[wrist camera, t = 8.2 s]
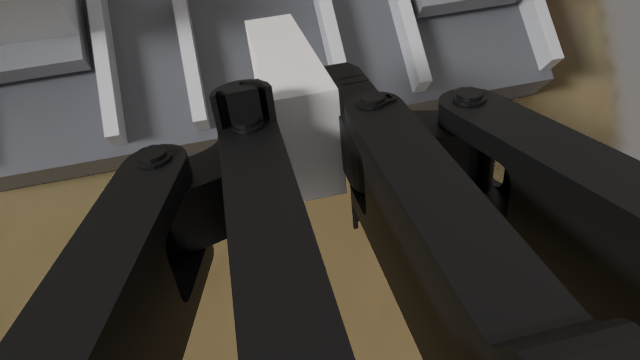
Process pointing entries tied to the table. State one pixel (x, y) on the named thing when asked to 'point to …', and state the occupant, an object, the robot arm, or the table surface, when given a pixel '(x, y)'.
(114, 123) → the grey slotted tray
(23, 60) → the grey slider
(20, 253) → the table surface
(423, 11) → the sage knob slider
